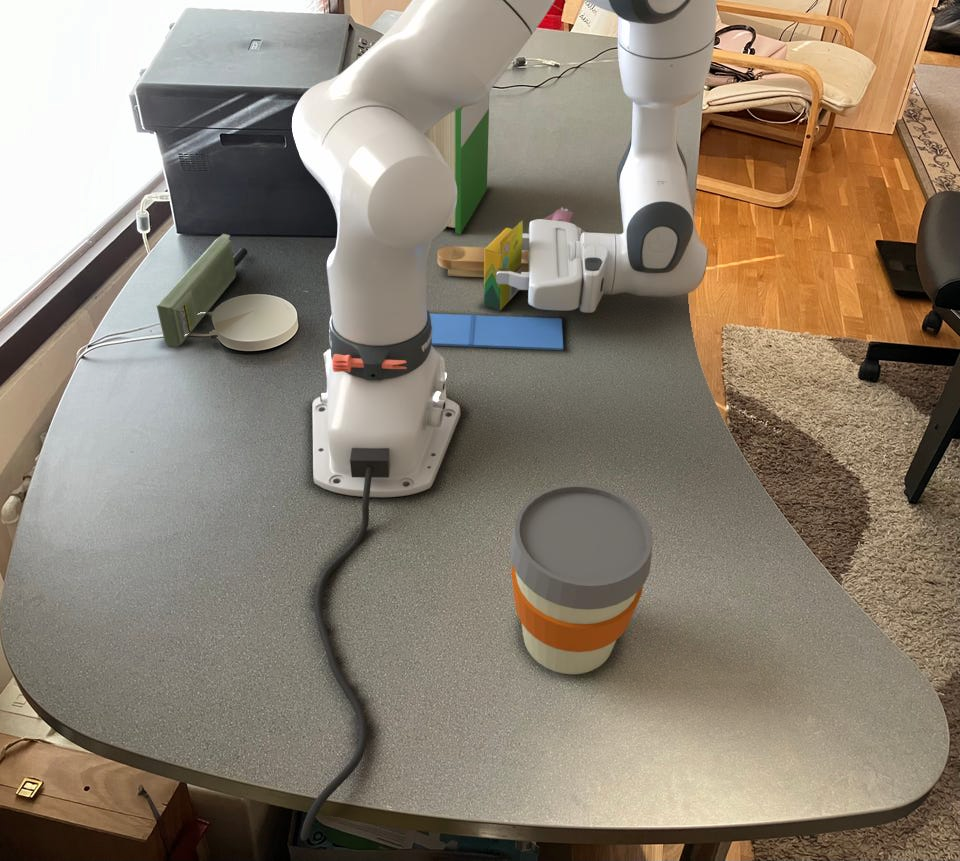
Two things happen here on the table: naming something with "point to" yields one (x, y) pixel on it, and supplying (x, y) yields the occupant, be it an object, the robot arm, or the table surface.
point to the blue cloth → (497, 331)
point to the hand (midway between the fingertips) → (497, 259)
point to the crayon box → (502, 266)
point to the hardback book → (465, 155)
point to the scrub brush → (469, 260)
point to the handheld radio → (198, 290)
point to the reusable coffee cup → (577, 573)
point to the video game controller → (560, 215)
